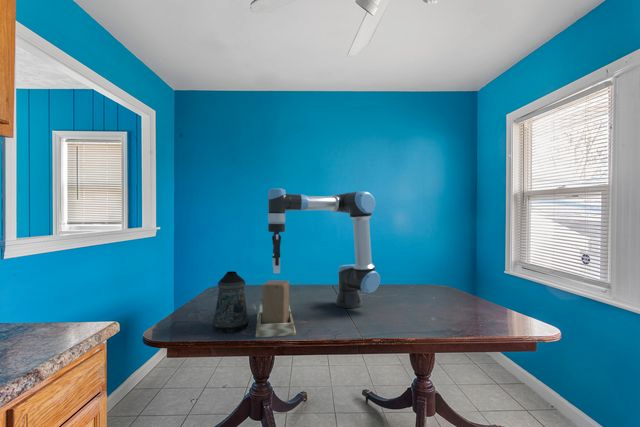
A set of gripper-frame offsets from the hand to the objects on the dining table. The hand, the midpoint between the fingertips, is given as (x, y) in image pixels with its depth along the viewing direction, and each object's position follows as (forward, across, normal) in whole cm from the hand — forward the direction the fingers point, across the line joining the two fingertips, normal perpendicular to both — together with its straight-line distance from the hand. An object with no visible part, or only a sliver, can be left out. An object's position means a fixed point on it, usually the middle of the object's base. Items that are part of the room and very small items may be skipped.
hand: (276, 270), depth 140 cm
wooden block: (+26, 0, 0) cm, 26 cm away
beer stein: (+27, -7, -21) cm, 35 cm away
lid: (+21, -14, 0) cm, 25 cm away
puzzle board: (+26, -8, 0) cm, 28 cm away
